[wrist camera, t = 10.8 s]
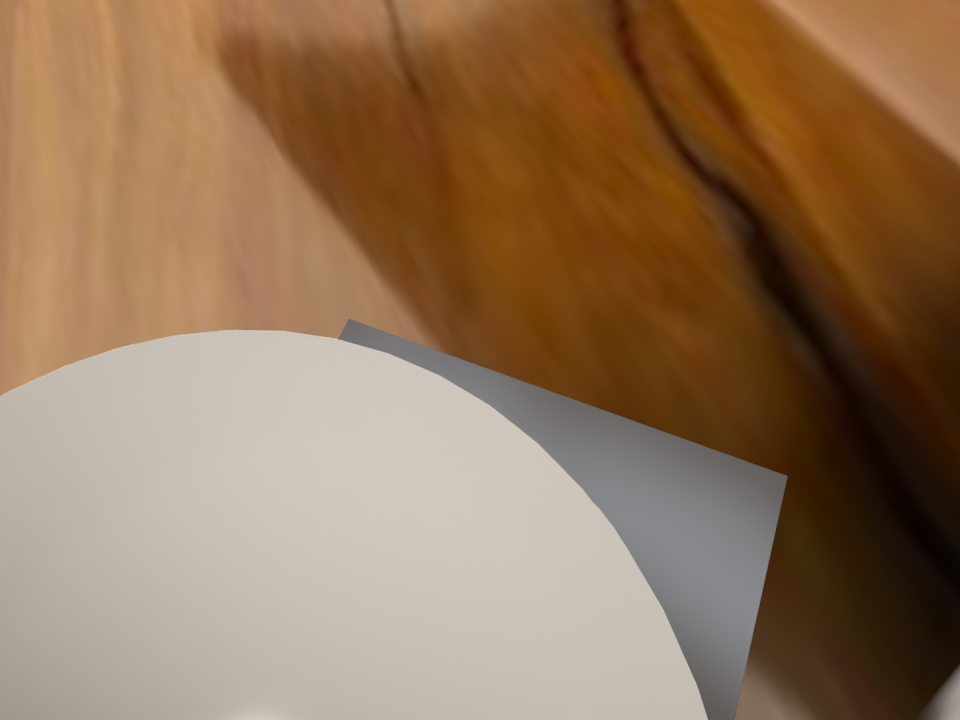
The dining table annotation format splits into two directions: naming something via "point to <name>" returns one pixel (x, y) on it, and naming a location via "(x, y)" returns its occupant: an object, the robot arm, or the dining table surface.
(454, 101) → the dining table surface
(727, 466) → the grey block
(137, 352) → the cream cylindrical piece
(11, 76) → the dining table surface
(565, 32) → the dining table surface
